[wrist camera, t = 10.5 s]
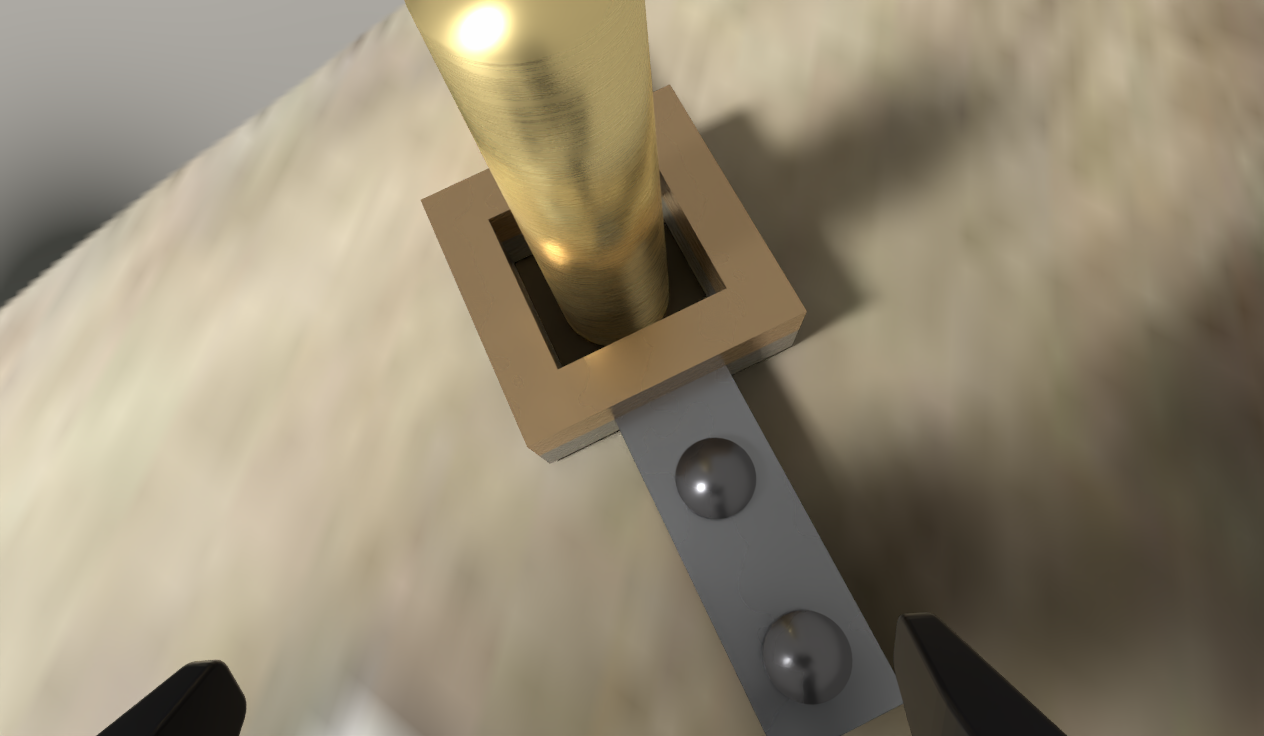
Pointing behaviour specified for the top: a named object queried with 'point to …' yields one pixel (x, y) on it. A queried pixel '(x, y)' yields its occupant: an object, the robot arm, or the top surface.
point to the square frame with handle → (689, 430)
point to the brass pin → (566, 143)
